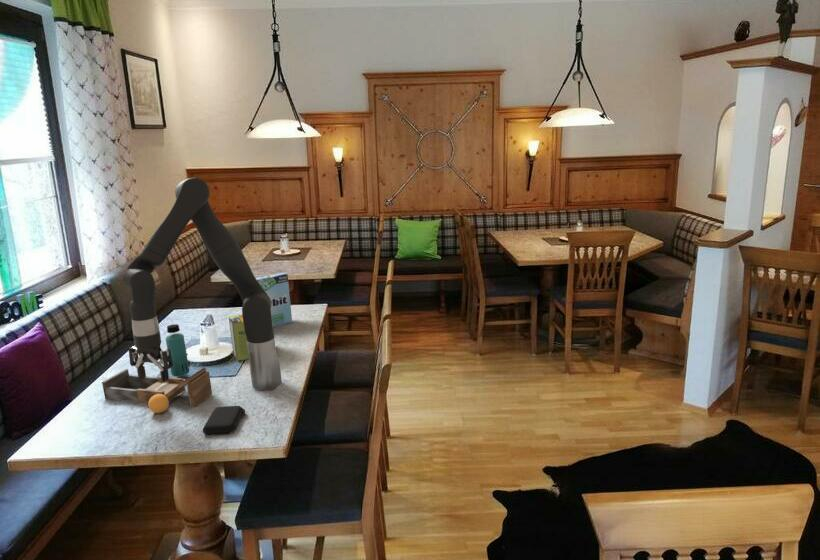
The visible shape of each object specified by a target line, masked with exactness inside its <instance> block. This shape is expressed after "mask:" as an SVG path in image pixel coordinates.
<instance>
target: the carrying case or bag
mask: <svg viewBox="0 0 820 560" xmlns="http://www.w3.org/2000/svg"><path fill="white" fill-rule="evenodd" d="M242 416H244V417H245V416H246V409H245V408H243V407H242V406H241V405H227V406H217V407H215V408H214V409H213V410H212V412H211V413H210V416H209V417H208V419H207V420H206V422H205V424H204V426H203V427H202V433H203V434H205V435H207V436H213V435H214V436H215V435H227V434H228V435H229V434H232V433H233V432H234V431H236V429H237V427H238V426H239V423H240V421H241V419H242V418H243V417H242Z"/></svg>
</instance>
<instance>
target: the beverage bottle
mask: <svg viewBox="0 0 820 560" xmlns="http://www.w3.org/2000/svg"><path fill="white" fill-rule="evenodd" d="M166 329H167V333H168V335H167V336H166V337H165V342H166V343H165V345H166V349H170V352H171V357H172V362H173V367H171V368H169V371H170V373H171V377H174V378H180V377H184V376H186V375H188V374H189V373H190V363H189V360H188V355H187V354H188V353H187V346H186V342H185V336H184V334H183V333H181V332H180V331H181V330H180V326H179V324H175V323H173V324H170V325H167V327H166ZM185 346H186V347H185Z"/></svg>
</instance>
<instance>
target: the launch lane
mask: <svg viewBox="0 0 820 560" xmlns="http://www.w3.org/2000/svg"><path fill="white" fill-rule="evenodd" d="M210 376H211V375H210V371H209V370H207V368H206V367H203V368H201V369H199V370H198V371H196V372H195V373H193V374H192V375H190V376H189V377H187V378H186V379H184V377H175V376H169V378H168V380H167V381H165V382H162V380H161V375H159V376H149V375H146V377H145V378H143V379H139V377H138V374H137V375H136V374H129V369H128V368H127V369H126V368H125V369H123V370H121V371H120V372H118V373H116V374H114V375H113V376H111V377H109V378H106V379H105V380H103V381H102V382H101V384H102V390H103V394H104V398H105V399H109V400H117V401H126V402H134V403H135V402H136V403H143V404H144V403H145V404H148V403H149V400H150V398H151V397H152V396H154V395H156V394H163V395H165V396H166V397H167V398H168V401H169V402H171V401H172V400H174V399H175V398H177V397H179V396H180V395H181V394H182V393H184V392H185V391H186V386H187V393H188V397H189V403H190V404H189V405H190V407H194V408H196V407H198V406H199V405H201V404H202V403H203V402H204V401H206V400H207V399H208V398H210V397H211V396H213V390H212V389H213V388H212V382H211V377H210Z"/></svg>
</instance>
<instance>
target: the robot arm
mask: <svg viewBox="0 0 820 560" xmlns="http://www.w3.org/2000/svg"><path fill="white" fill-rule="evenodd" d="M174 192H175V198H176V199H175V202H174V204H173V205H172V207H171V209H170V210H169V213H168V214H167V215H166V217H165V218H164V220H162V222H161V223H160V224H159V225H158V227H157V228H156V229H155V231H154V232H153V233H152V235H151V236H150V237H149V239H148V241H147V242H146V243H145V245H144V247H143V249H142V251H141V252H140V253H139V254H138V255H137V256H136V257H135V258H134V259H133V260H132V262H130V264H129V265H128V266H127V268H126V269H125V271H124V272H123V275H122V283H123V285H124V286H125V287H126V288H127V289H129V290H131V291H130V292H131V298H132V300H131V301H130V303H129V310H130V316H131V317H130V318H131V328H132V336H133V342H134V346H132V347H129V348H128V356H129V357H128V358H129V365H130V366H131V367H135V368H136V372H137V375H138V377H139V379H143V378H145V377H146V376H147V374H146V368H145V366H144V365H145V363H150V364H153V365H154V366H156V367H157V368H158V369H159V370H160V371H159V372H160V376H161V380H162V382H165V381H167V380H168V378H169V377H170V375H169V370H170V369H171V367H173V362H172V357H171V352H170V349H167V348H166V349H167V350H166V349H165V350H164V349H162V347H161V344H162V337H161V336H162V335H161V332H160V331H161V330H160V324H159V320H158V316H157V311H156V304H155V299H156V283H155V282H156V281H155V278H154V276H153V274H152V272H154V270H155V269H156V268H157V267H161V266H162V265H163V264H164V263H165V261H166V259H167V258H168V256H169V255H170V253H171V251H172V250H173V248H174V246H175V245H176V244H177V243H176V242H177V241H178V240H179V238H180V236H181V235H182V233H183V232H184V230H185V228H186V227H187V226H188V224H189V222H190V221H192V223H193V225H194V226H195V228H196V229H197V231H198V235H199V236H200V237H201V238H200V239H201V240H202V242H203V243H204V246H205V247H206V249H207V251H208V253H209V255H210V256H211V258H212V259H213V261H214V263H215V265H216V266H217V267H218V269H219V270H220V272H222V273H223V275H224V276H225V277H227V279H229V281H230V282H231V283H232V284H233V285H234V286H235V287H234V288H235V289H236V291H237V292H238V294H239V296H240V298H241V301H242V306H241V312H242V313H241V315H242V316H243V323H244V330H245V334H246V339H247V347H248V355H249V359H248V362H249V368H250V369H249V371H250V377H251V378H250V379H251V385H252V389H254V390H255V391H267V390H275V389H276V388H277V387H278V386H279V385H280V384H281V383H282V381H283V380H282V371H281V364H280V357H278V356H277V349H276V348H277V347H276V340H275V330H273V329H274V327H273V326H272V317H271V300H270V298H269V296H268V295H267V293H266V292H265V291H264V289H263V288H262V287H261V285H260V284H259V282H258V281H257V280H256V278H257V277H256V276H255V275H254V273H253V271H252V269H251V267H250V264H249V263H248V262H249V261H247V258H246V257H245V255H244V254H245V253H243V251H242V249H241V247H240V245H239V244H238V242H237V240H236V239H235V236H233V234H232V233H231V232H230V230H228V228H227V227H226V226H225V225H224V224H223V222H222V221H220V219H219V218H218V217H217V215H216V214H215V212H214V210H213V209H212V207H211V205H210V203H209V198H210V188H209V185H208V184H207V182H205V180H203V179H201V178H198V177H189V178H187V179H184V180H182V181H179V183H178V184H177V185H176V187H175V191H174ZM275 347H276V348H275Z"/></svg>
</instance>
